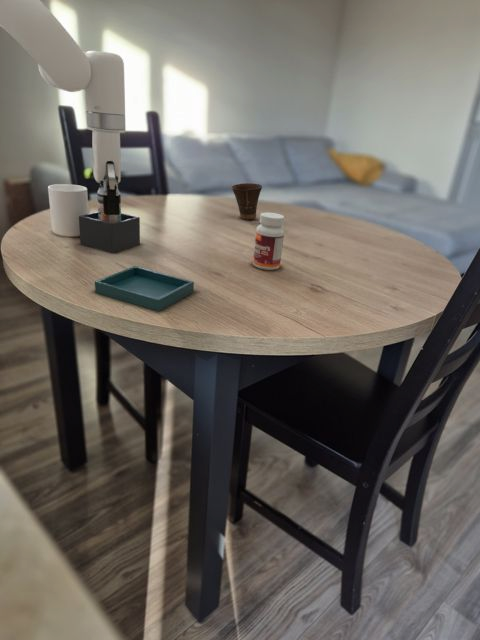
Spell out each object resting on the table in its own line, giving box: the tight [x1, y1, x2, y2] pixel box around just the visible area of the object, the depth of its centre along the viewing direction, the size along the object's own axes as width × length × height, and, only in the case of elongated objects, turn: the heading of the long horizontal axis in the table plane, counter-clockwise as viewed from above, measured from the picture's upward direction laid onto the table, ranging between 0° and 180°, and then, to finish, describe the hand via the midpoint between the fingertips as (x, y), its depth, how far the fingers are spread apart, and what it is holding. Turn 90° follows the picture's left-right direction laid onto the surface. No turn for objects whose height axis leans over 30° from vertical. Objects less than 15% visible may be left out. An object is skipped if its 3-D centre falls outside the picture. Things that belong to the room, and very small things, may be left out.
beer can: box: [96, 187, 122, 223], centre depth 106 cm, size 5×5×12 cm
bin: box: [79, 211, 141, 254], centre depth 108 cm, size 9×9×6 cm
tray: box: [94, 265, 195, 312], centre depth 86 cm, size 13×11×2 cm
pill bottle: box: [252, 212, 285, 271], centre depth 105 cm, size 6×6×11 cm
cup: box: [231, 182, 263, 221], centre depth 144 cm, size 9×9×10 cm
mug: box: [47, 183, 90, 238], centre depth 113 cm, size 12×8×10 cm
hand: (109, 209), depth 106 cm, fingers open, 8 cm apart
